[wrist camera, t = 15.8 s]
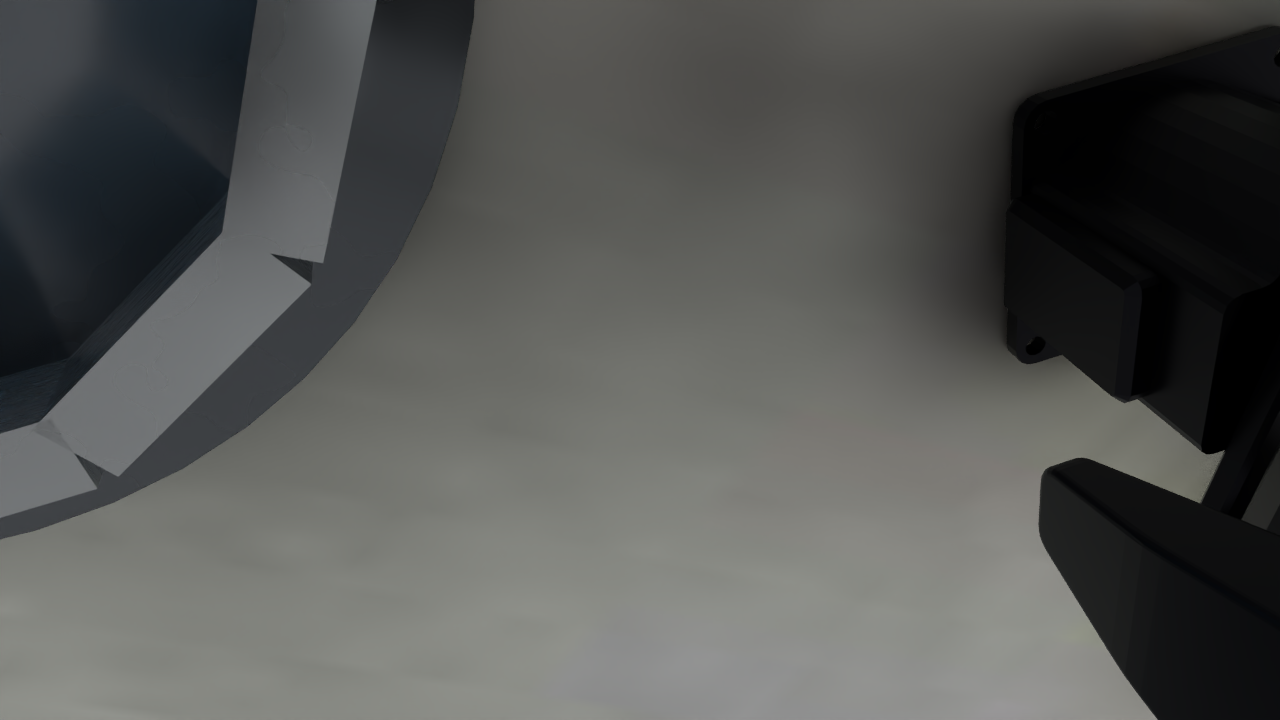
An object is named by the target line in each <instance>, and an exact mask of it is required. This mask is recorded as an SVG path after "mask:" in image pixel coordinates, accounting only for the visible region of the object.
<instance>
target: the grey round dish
mask: <svg viewBox="0 0 1280 720" xmlns="http://www.w3.org/2000/svg"><path fill="white" fill-rule="evenodd" d="M473 18H474V0H0V539H3V538H7V537H11V536H15V535H19V534H23V533H27V532H31V531H35V530H38V529H41V528H44V527H47V526H49V525H52V524H55V523H58V522H61V521H63V520H66V519H69V518H72V517H74V516H77V515H80V514H83V513H86V512H88V511H91V510H94V509H97V508H100V507H102V506H105V505H108V504H111V503H113V502H115V501H117V500H120V499H122V498H124V497H126V496H128V495H130V494H132V493H134V492H136V491H138V490H140V489H142V488H144V487H146V486H148V485H150V484H152V483H154V482H156V481H158V480H160V479H162V478H164V477H166V476H168V475H170V474H172V473H174V472H177V471H179V470H181V469H183V468H184V467H186V466H187V465H189V464H191V463H192V462H194V461H195V460H197V459H198V458H200V457H201V456H203V455H204V454H206V453H207V452H209V451H211V450H212V449H214V448H215V447H217V446H218V445H220V444H221V443H223V442H224V441H226V440H227V439H229V438H231V437H232V436H234V435H235V434H237V433H238V432H240V431H241V430H243V429H244V428H246V427H247V426H249V425H250V424H251V423H252V422H253V421H254V420H256V419H257V418H258V417H259V416H260V415H261V414H263V413H264V412H265V411H266V410H267V409H269V408H270V407H271V406H272V405H273V404H274V403H276V402H277V401H278V400H279V399H280V398H281V397H283V396H284V395H285V394H286V393H287V392H289V391H290V390H291V389H292V388H293V387H294V386H296V385H297V384H298V383H299V382H300V381H301V380H303V379H304V378H305V377H306V376H307V374H308V373H309V372H310V371H311V370H312V369H313V368H314V367H315V366H316V364H317V363H318V362H319V361H320V360H321V359H322V358H323V357H324V356H325V354H326V353H327V352H328V351H329V350H330V349H331V348H332V347H333V346H334V344H335V343H336V342H337V341H338V340H339V339H340V338H341V337H342V335H343V334H344V333H345V332H346V331H347V330H348V329H349V328H350V327H351V325H352V324H353V323H354V322H355V321H356V319H357V318H358V316H359V315H360V313H361V312H362V310H363V309H364V307H365V306H366V304H367V303H368V301H369V300H370V298H371V297H372V295H373V294H374V292H375V291H376V289H377V288H378V286H379V285H380V283H381V282H382V280H383V279H384V277H385V276H386V274H387V273H388V271H389V270H390V268H391V267H392V265H393V264H394V262H395V261H396V260H397V258H398V256H399V254H400V252H401V249H402V247H403V245H404V243H405V241H406V239H407V237H408V235H409V233H410V231H411V229H412V227H413V225H414V223H415V221H416V218H417V216H418V214H419V212H420V210H421V208H422V206H423V204H424V202H425V200H426V198H427V196H428V194H429V192H430V190H431V188H432V185H433V181H434V178H435V175H436V172H437V169H438V166H439V163H440V160H441V157H442V154H443V150H444V147H445V144H446V141H447V138H448V135H449V132H450V129H451V126H452V123H453V120H454V116H455V113H456V110H457V107H458V102H459V96H460V90H461V85H462V79H463V74H464V68H465V63H466V57H467V51H468V46H469V40H470V35H471V29H472V24H473Z"/></svg>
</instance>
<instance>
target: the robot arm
mask: <svg viewBox="0 0 1280 720" xmlns="http://www.w3.org/2000/svg"><path fill="white" fill-rule="evenodd" d="M1279 48H1280V26H1274V27H1270V28H1267V29H1263V30H1260V31H1256V32H1253V33H1249V34H1246V35H1242V36H1239V37H1235V38H1232V39H1228V40H1225V41H1221V42H1218V43H1214V44H1211V45H1207V46H1204V47H1200V48H1197V49H1193V50H1190V51H1186V52H1183V53H1179V54H1176V55H1172V56H1169V57H1165V58H1162V59H1158V60H1155V61H1151V62H1148V63H1144V64H1141V65H1137V66H1134V67H1130V68H1127V69H1123V70H1119V71H1116V72H1112V73H1109V74H1105V75H1102V76H1098V77H1095V78H1091V79H1088V80H1084V81H1081V82H1077V83H1074V84H1070V85H1067V86H1063V87H1060V88H1056V89H1053V90H1049V91H1046V92H1042V93H1039V94H1035V95H1033V96H1031V97H1029V98H1027V99H1026V100H1025V101H1024V102H1023V103H1022V104H1021V105H1020V106H1019V108H1018V110H1017V112H1016V113H1015V116H1014V120H1013V134H1012V171H1011V202H1010V204H1009V207H1008V209H1007V212H1006V242H1005V283H1004V305H1005V307H1006V308H1007V309H1008V319H1007V347H1008V350H1009V351H1010V352H1011V353H1012V354H1013V355H1014V356H1015V357H1016V358H1017V359H1018V360H1019V361H1020V362H1022V363H1025V364H1033V363H1037V362H1040V361H1043V360H1047V359H1050V358H1053V357H1056V356H1059V355H1063V356H1064V357H1066V358H1067V359H1068V360H1069V361H1070V362H1072V363H1073V364H1074V365H1075V366H1076V367H1077V368H1079V369H1080V370H1081V371H1082V372H1083V373H1085V374H1086V375H1087V376H1088V377H1089V378H1091V379H1092V380H1093V381H1094V382H1095V383H1096V384H1098V385H1099V386H1100V387H1101V388H1102V389H1104V390H1105V391H1106V392H1107V393H1108V394H1110V395H1111V396H1112V397H1114V398H1116V399H1117V400H1119V401H1121V402H1123V403H1126V402H1129V401H1133V400H1136V399H1138V400H1139V401H1141V402H1142V403H1143V404H1144V405H1146V406H1147V407H1148V408H1149V409H1150V410H1152V411H1153V412H1154V413H1155V414H1157V415H1158V416H1159V417H1160V418H1161V419H1163V420H1164V421H1165V422H1166V423H1168V424H1169V425H1170V426H1171V427H1172V428H1174V429H1175V430H1176V431H1177V432H1179V433H1180V434H1181V435H1182V436H1183V437H1185V438H1186V439H1187V440H1188V441H1190V442H1191V443H1192V444H1193V445H1194V446H1196V447H1197V448H1198V449H1199V450H1201V451H1202V452H1203V453H1205V454H1214V453H1217V452H1220V451H1223V450H1225V451H1224V453H1223V455H1222V457H1221V460H1220V462H1219V464H1218V466H1217V468H1216V470H1215V472H1214V474H1213V477H1212V479H1211V481H1210V483H1209V485H1208V487H1207V489H1206V491H1205V494H1204V496H1203V498H1202V500H1201V502H1200V503H1198V502H1195V501H1193V500H1190V499H1188V498H1185V497H1183V496H1180V495H1178V494H1175V493H1173V492H1170V491H1168V490H1165V489H1163V488H1160V487H1158V486H1155V485H1153V484H1150V483H1148V482H1145V481H1143V480H1140V479H1138V478H1135V477H1133V476H1130V475H1128V474H1125V473H1123V472H1120V471H1118V470H1115V469H1113V468H1110V467H1108V466H1105V465H1103V464H1100V463H1098V462H1095V461H1093V460H1090V459H1086V458H1076V459H1072V460H1069V461H1066V462H1063V463H1060V464H1057V465H1054V466H1051V467H1049V468H1047V469H1046V470H1045V471H1044V473H1043V474H1042V477H1041V488H1040V506H1039V533H1040V537H1041V540H1042V543H1043V545H1044V547H1045V549H1046V551H1047V552H1048V554H1049V556H1050V557H1051V559H1052V561H1053V562H1054V564H1055V565H1056V567H1057V569H1058V570H1059V572H1060V573H1061V575H1062V577H1063V578H1064V580H1065V582H1066V583H1067V585H1068V586H1069V588H1070V590H1071V591H1072V593H1073V594H1074V596H1075V598H1076V599H1077V601H1078V603H1079V604H1080V606H1081V607H1082V609H1083V611H1084V612H1085V614H1086V616H1087V617H1088V619H1089V620H1090V622H1091V624H1092V625H1093V627H1094V628H1095V630H1096V632H1097V633H1098V635H1099V637H1100V638H1101V640H1102V641H1103V643H1104V645H1105V646H1106V648H1107V650H1108V651H1109V653H1110V654H1111V656H1112V657H1113V659H1114V660H1115V662H1116V664H1117V665H1118V667H1119V668H1120V670H1121V671H1122V673H1123V674H1124V676H1125V677H1126V678H1127V680H1128V681H1129V682H1130V684H1131V685H1132V687H1133V688H1134V689H1135V691H1136V692H1137V693H1138V695H1139V696H1140V697H1141V699H1142V700H1143V701H1144V703H1145V704H1146V705H1147V706H1148V708H1149V709H1150V710H1151V712H1152V713H1153V714H1154V715H1155V717H1156V718H1157V719H1158V720H1280V51H1279V53H1278V55H1277V56H1276V57H1275V54H1276V52H1277V50H1278V49H1279ZM1274 57H1275V58H1274ZM1045 112H1046V117H1045V121H1044V122H1043V123H1042V125H1041V126H1040V127H1038V128H1036V129H1035V124H1036V120H1037V119H1038V118H1039V117H1040V115H1041V114H1043V113H1045ZM1033 338H1035V339H1034V340H1033V342H1032V343H1031V344H1029V345H1027V344H1028V343H1029V341H1030V340H1031V339H1033Z"/></svg>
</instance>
